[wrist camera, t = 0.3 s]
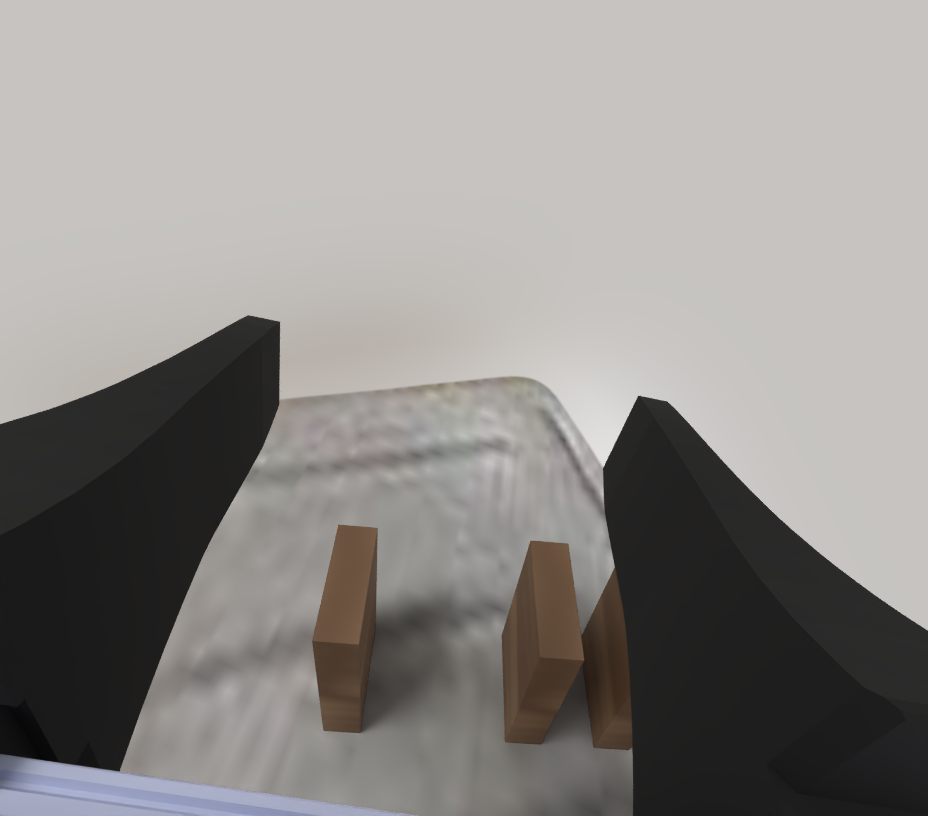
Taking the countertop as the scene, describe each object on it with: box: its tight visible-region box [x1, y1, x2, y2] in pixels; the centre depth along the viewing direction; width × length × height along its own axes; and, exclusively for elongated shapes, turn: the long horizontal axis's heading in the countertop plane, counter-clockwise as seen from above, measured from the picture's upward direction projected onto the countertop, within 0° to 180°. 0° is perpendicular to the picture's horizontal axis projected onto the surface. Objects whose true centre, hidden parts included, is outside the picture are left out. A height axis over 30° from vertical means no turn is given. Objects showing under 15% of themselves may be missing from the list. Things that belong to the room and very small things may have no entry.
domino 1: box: [312, 525, 378, 733], centre depth 25 cm, size 2×5×8 cm, turn 179°
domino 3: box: [581, 568, 632, 750], centre depth 26 cm, size 2×5×8 cm, turn 179°
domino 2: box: [502, 541, 584, 744], centre depth 25 cm, size 2×5×8 cm, turn 179°
